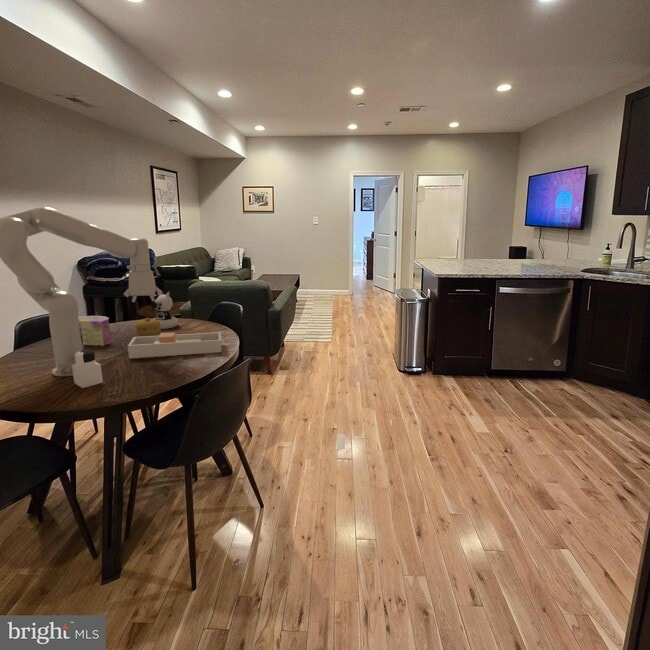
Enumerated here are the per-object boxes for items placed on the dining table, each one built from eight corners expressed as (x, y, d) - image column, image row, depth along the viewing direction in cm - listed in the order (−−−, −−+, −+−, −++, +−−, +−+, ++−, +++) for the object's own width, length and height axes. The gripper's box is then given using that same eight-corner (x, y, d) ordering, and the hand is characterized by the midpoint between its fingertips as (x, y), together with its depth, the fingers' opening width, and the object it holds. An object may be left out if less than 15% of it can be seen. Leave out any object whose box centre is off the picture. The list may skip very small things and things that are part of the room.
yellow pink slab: (121, 333, 218) (119, 318, 216) (75, 344, 199) (72, 327, 197) (94, 326, 231) (92, 312, 229) (49, 336, 212) (47, 320, 210)
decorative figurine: (144, 329, 226) (140, 292, 221) (160, 323, 240) (157, 288, 235) (168, 331, 223) (165, 293, 218) (183, 324, 237) (181, 289, 232)
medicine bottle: (94, 378, 157) (90, 347, 154) (103, 382, 153) (99, 351, 150) (74, 383, 152) (69, 351, 149) (82, 388, 147) (77, 355, 144)
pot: (132, 340, 206) (130, 320, 203) (142, 334, 217) (140, 315, 214) (156, 340, 206) (154, 320, 203) (165, 334, 217) (163, 315, 215)
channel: (221, 353, 187) (220, 340, 185) (129, 359, 178) (127, 345, 176) (221, 344, 200) (220, 332, 198) (135, 349, 191) (133, 337, 189)
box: (111, 342, 202) (108, 318, 199) (104, 346, 196) (101, 321, 193) (91, 341, 203) (87, 318, 200) (83, 345, 197) (79, 320, 194)
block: (174, 345, 184) (173, 336, 183) (159, 346, 183) (158, 337, 182) (175, 340, 191) (174, 332, 190) (161, 341, 189) (160, 333, 188)
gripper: (116, 269, 171) (121, 313, 176) (161, 268, 175) (165, 311, 180) (120, 267, 178) (125, 309, 183) (163, 266, 182) (167, 307, 187)
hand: (145, 309), depth 181 cm, fingers open, 5 cm apart
